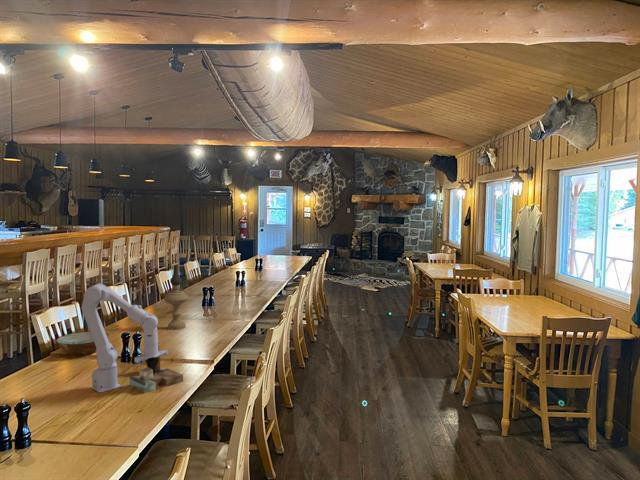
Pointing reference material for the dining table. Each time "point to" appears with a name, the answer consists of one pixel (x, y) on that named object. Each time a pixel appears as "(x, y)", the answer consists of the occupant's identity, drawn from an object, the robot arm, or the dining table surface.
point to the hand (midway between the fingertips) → (152, 374)
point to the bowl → (78, 343)
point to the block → (146, 374)
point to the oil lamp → (176, 301)
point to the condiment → (158, 365)
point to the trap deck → (156, 381)
